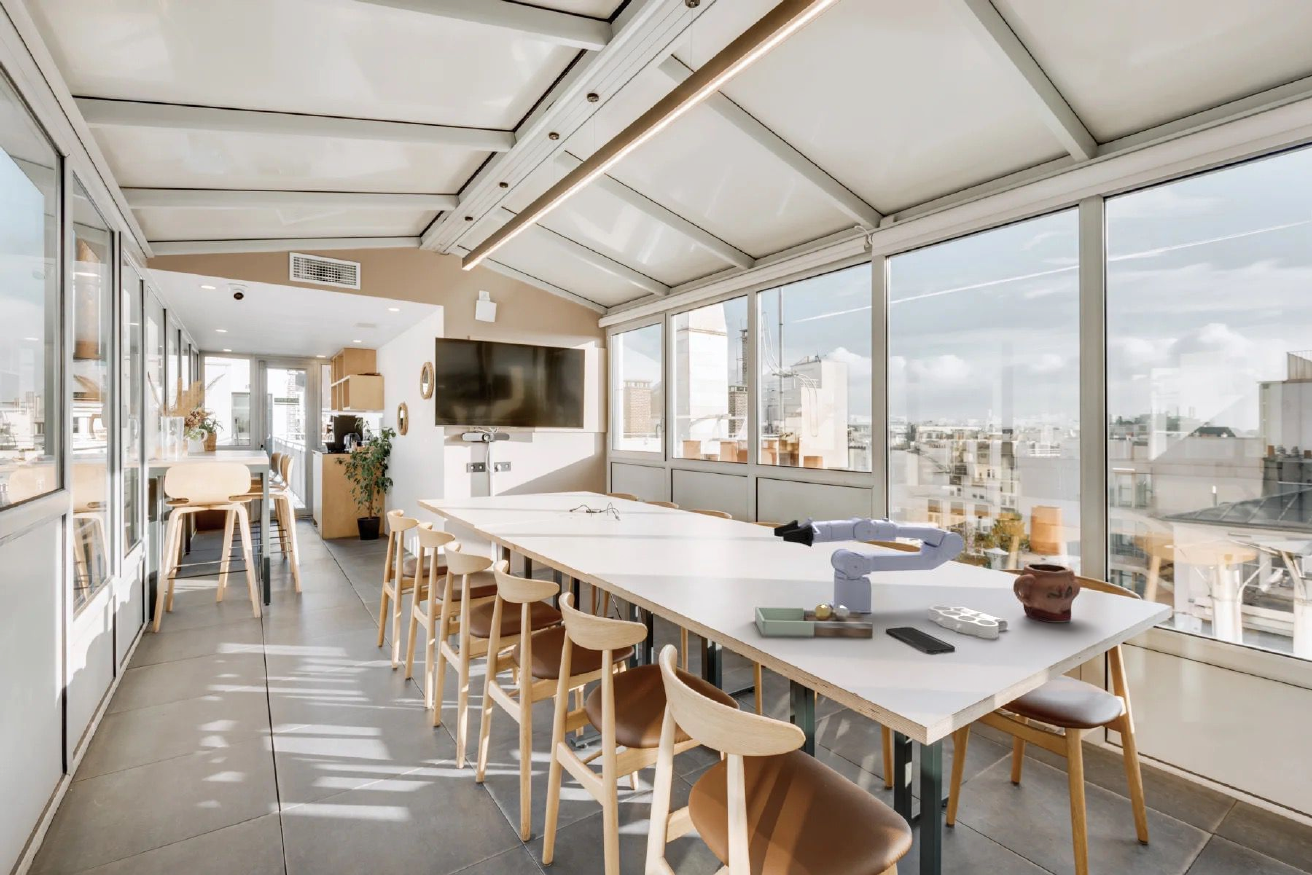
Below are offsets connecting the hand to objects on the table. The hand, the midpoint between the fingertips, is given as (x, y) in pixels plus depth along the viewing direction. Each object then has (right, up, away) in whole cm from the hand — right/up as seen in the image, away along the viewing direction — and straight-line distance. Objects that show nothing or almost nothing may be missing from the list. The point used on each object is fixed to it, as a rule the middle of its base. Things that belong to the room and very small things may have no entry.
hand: (778, 534), depth 163 cm
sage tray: (-2, -21, -15) cm, 26 cm away
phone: (+28, -22, -23) cm, 42 cm away
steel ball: (+12, -17, -15) cm, 26 cm away
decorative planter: (+69, -22, -4) cm, 72 cm away
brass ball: (+8, -17, -15) cm, 24 cm away
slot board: (+11, -21, -15) cm, 28 cm away
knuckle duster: (+45, -22, -11) cm, 51 cm away
